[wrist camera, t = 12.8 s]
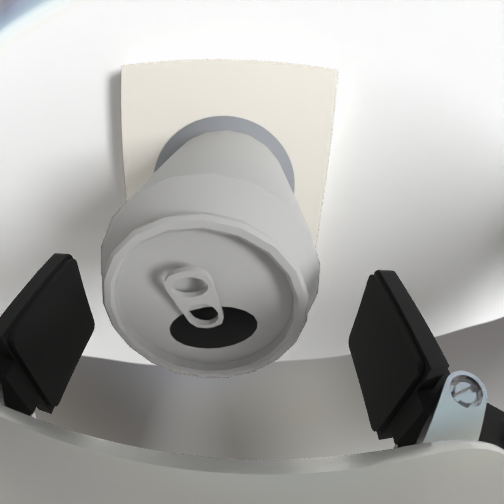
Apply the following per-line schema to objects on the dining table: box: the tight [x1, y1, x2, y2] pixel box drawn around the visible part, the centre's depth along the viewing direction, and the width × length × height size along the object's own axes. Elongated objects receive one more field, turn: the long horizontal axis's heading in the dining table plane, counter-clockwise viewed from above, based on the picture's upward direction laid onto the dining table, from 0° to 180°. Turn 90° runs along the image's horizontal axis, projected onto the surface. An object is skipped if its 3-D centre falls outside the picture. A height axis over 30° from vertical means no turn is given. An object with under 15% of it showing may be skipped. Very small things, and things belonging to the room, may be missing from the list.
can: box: [101, 130, 320, 378], centre depth 14 cm, size 8×8×12 cm
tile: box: [121, 59, 338, 248], centre depth 20 cm, size 13×16×2 cm
